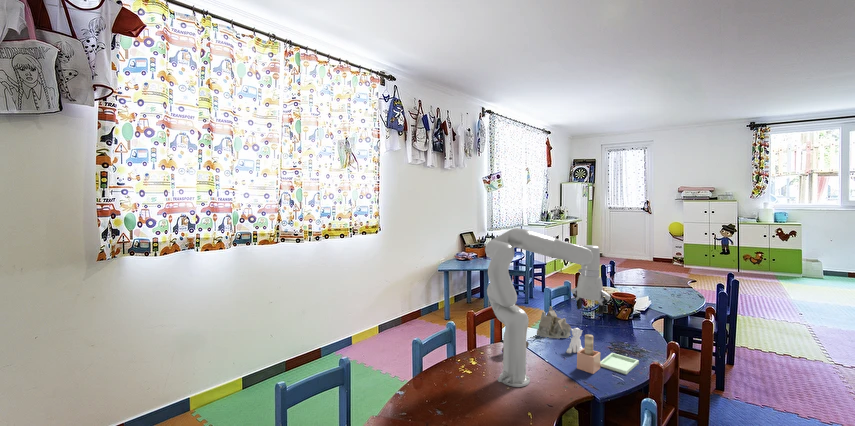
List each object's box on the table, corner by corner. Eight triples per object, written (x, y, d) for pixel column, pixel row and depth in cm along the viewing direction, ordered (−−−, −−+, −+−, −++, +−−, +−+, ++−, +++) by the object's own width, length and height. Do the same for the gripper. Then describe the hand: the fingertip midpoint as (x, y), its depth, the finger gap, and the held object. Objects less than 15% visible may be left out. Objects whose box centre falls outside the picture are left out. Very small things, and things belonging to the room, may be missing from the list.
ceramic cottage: (532, 332, 218) (534, 306, 217) (553, 328, 226) (555, 304, 225) (553, 343, 205) (555, 316, 203) (574, 339, 212) (576, 312, 211)
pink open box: (593, 375, 167) (593, 357, 166) (576, 369, 172) (577, 352, 172) (600, 369, 172) (600, 352, 172) (584, 364, 177) (584, 347, 177)
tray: (626, 375, 166) (626, 371, 166) (598, 367, 175) (598, 362, 175) (638, 364, 177) (638, 360, 177) (611, 356, 186) (612, 352, 186)
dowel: (590, 371, 169) (591, 338, 169) (582, 368, 172) (583, 335, 171) (594, 368, 172) (594, 335, 171) (586, 366, 175) (586, 333, 174)
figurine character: (518, 349, 198) (498, 353, 189) (519, 335, 198) (499, 338, 189) (528, 354, 193) (508, 358, 184) (529, 339, 193) (509, 342, 184)
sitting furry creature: (566, 354, 189) (566, 330, 188) (564, 347, 197) (564, 324, 196) (587, 356, 186) (587, 332, 186) (584, 349, 195) (584, 326, 194)
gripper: (567, 271, 173) (567, 308, 174) (607, 277, 161) (606, 317, 162) (575, 269, 179) (575, 305, 180) (613, 274, 166) (613, 313, 167)
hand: (590, 310), depth 171 cm, fingers open, 9 cm apart
